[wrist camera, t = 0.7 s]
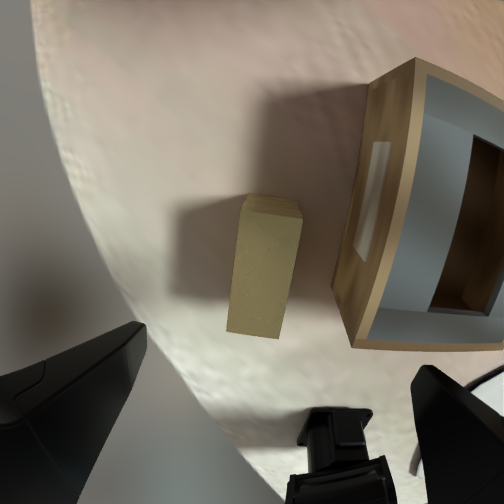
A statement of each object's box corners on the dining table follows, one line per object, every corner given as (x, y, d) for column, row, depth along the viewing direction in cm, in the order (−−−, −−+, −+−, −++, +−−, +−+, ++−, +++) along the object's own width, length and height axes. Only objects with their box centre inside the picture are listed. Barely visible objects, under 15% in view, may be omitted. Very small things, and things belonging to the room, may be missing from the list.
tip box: (459, 301, 20) (502, 350, 14) (329, 285, 20) (349, 347, 14) (502, 137, 15) (564, 145, 9) (367, 83, 16) (413, 56, 9)
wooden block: (278, 297, 21) (278, 339, 17) (236, 290, 21) (226, 331, 17) (295, 200, 19) (303, 219, 14) (248, 193, 19) (240, 209, 14)
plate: (571, 322, 21) (577, 327, 19) (519, 429, 29) (522, 435, 27) (440, 387, 24) (445, 398, 23) (405, 480, 32) (407, 488, 31)
